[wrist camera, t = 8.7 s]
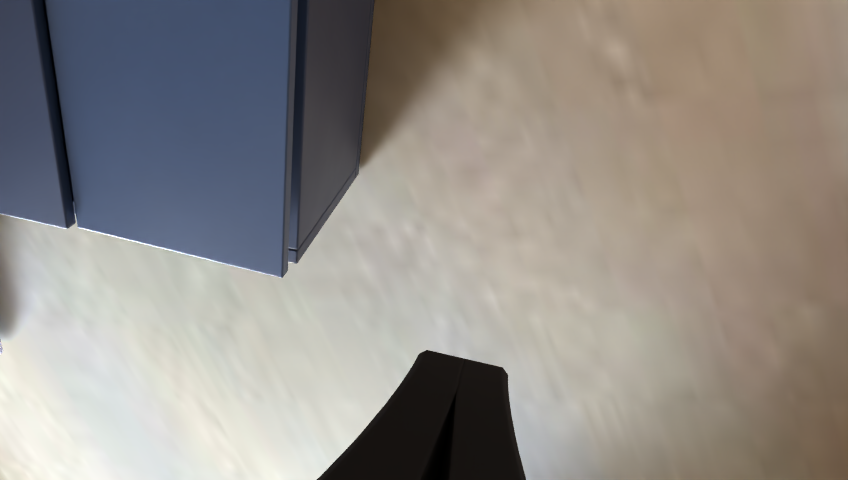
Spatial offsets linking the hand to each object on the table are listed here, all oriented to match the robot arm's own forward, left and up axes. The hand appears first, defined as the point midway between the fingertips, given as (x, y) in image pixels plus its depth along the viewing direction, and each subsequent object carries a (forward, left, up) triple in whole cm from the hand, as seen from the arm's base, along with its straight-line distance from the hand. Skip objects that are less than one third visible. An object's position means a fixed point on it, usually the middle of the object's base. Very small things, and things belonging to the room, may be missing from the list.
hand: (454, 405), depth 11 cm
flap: (-7, +4, -5) cm, 9 cm away
